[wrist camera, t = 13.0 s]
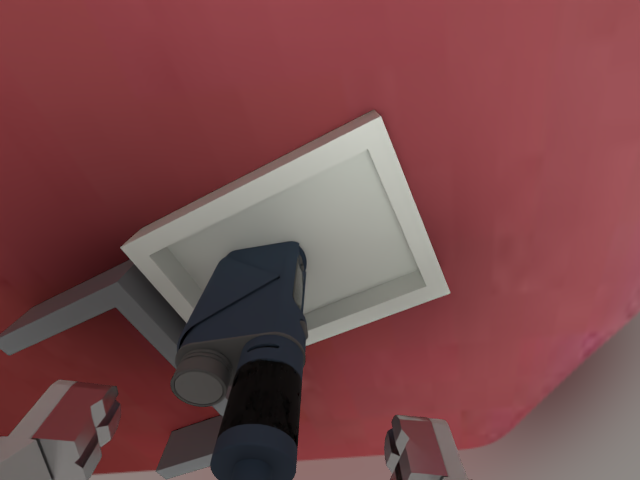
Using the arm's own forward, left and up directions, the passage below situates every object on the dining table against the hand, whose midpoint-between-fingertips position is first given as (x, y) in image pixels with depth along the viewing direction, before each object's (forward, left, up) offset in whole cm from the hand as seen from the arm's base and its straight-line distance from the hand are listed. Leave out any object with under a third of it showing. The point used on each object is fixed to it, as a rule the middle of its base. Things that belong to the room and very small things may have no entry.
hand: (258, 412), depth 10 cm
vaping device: (-2, 0, -10) cm, 10 cm away
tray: (0, 0, -10) cm, 10 cm away
